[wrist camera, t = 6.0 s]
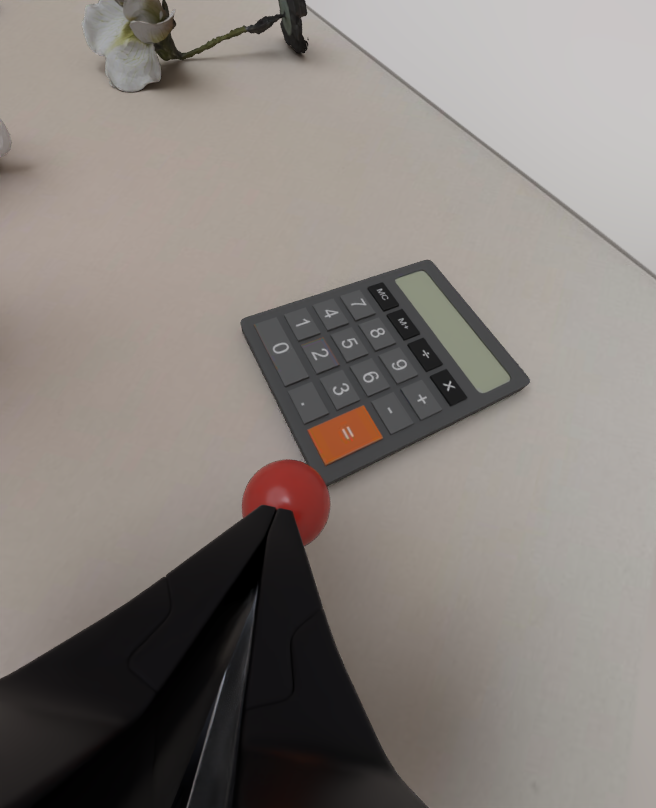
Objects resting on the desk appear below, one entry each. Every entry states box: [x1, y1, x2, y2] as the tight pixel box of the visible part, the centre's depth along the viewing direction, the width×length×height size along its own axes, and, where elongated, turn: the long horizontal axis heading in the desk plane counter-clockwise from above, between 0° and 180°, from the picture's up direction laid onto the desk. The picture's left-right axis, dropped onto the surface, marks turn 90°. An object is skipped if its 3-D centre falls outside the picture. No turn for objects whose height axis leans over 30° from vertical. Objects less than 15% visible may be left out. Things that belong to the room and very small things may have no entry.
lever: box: [186, 459, 330, 808], centre depth 9 cm, size 15×3×3 cm, turn 170°
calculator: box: [241, 260, 530, 486], centre depth 22 cm, size 12×1×15 cm
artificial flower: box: [82, 0, 309, 92], centre depth 34 cm, size 9×22×10 cm, turn 117°
